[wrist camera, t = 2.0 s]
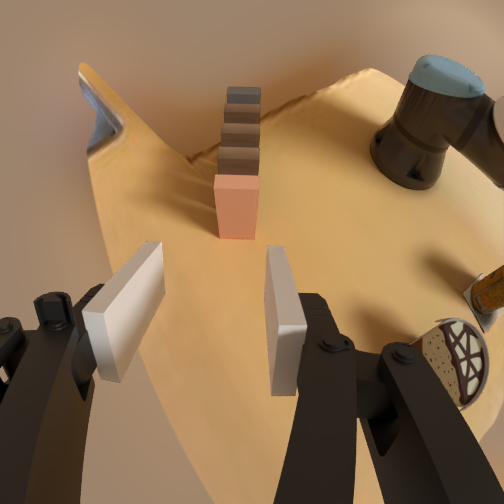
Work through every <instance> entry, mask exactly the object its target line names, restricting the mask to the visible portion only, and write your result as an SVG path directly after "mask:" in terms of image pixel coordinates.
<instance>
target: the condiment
mask: <svg viewBox="0 0 504 504" xmlns="http://www.w3.org/2000/svg"><path fill="white" fill-rule="evenodd" d="M463 295H464V297H465V298H466V300H467V302H468V304H469V306H470V308H471V309H472V311H473V313H474V314H475V316H476V317H477V319H478V321H479V323H480V325H481V327H482V328H483V330H484V332H485V334H486V333H487V332H488V330H489V329H490V328H491V327H492V325H493V324H494V323H495V322H496V320H497V319H498V318H499V317H500V315H501V314H502V313H503V312H504V311H503V309H502V307H504V265H503V266H501V267H500V268H498V269H497V270H495V271H493V272H492V273H491V274H489V275H488V276H486V277H484V275H483V273H482V274H481V275H480V276H479V277H478V278H477V279H476V280H475V281H474V282H473V283H472V284H471V285H470V286H469V287H468V288H467V289H466V290H465V291H464V292H463ZM480 315H481V316H480Z"/></svg>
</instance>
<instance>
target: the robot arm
mask: <svg viewBox="0 0 504 504" xmlns="http://www.w3.org/2000/svg"><path fill="white" fill-rule="evenodd" d="M484 92H485V85H484V83H483V81H482V80H481V79H480V78H479V77H478V76H476V75H475V73H474V72H473V71H471V70H470V69H468V68H466V67H465V66H463V65H462V64H460V63H458V62H456V61H453V60H451V59H448V58H445V57H442V56H437V55H425V56H422V57H421V58H419V59H418V61H417V62H416V64H415V66H414V68H413V70H412V72H411V73H410V74H409V79H408V82H407V84H406V87H405V89H404V91H403V94H402V96H401V98H400V101H399V103H398V105H397V108H396V110H395V112H394V114H393V116H392V117H391V118H390V119H389V120H388V121H387V122H386V123H384V124H383V125H382V126H381V127H380V128H379V129H378V130H377V131H376V133H375V134H374V136H373V139H372V141H371V144H370V152H371V155H372V158H373V160H374V162H375V163H376V165H377V166H378V168H379V169H380V170H381V171H382V172H383V173H384V174H385V175H386V176H387V177H388V178H390V179H391V180H393V181H394V182H396V183H397V184H399V185H401V186H404V187H406V188H409V189H413V190H425V189H428V188H430V187H432V186H433V185H434V183H435V182H436V181H437V179H438V178H439V176H440V174H441V171H442V167H443V162H444V158H445V153H446V151H447V149H448V147H449V146H450V145H451V146H452V147H454V148H455V149H456V150H457V151H458V152H460V153H461V154H462V155H463V156H465V157H466V158H467V159H468V160H469V161H470V162H472V163H473V164H474V165H475V166H476V167H477V168H478V169H479V170H481V171H482V172H483V173H484V174H485V175H486V176H487V177H488V178H489V179H490V180H491V181H492V182H493V183H494V184H495V185H496V186H497V187H498V188H500V189H502V190H503V191H504V96H502V97H500V98H499V99H498V100H497V101H496V102H495V101H494V100H492V99H491V98H490V97H488V96H487V95H486V94H485V93H484ZM164 295H165V284H164V271H163V257H162V242H156V241H146V242H145V243H144V244H143V245H142V246H141V247H140V248H139V249H138V250H137V251H136V252H135V253H134V255H133V256H132V257H131V258H130V259H129V260H128V261H127V262H126V263H125V264H124V265H123V266H122V267H121V268H120V269H119V270H118V271H117V272H116V273H115V274H114V275H113V277H112V278H111V279H110V280H109V281H108V282H107V283H106V284H99V285H97V286H95V287H93V288H91V289H90V290H89V291H88V292H87V293H86V294H85V295H84V296H83V297H82V298H81V299H80V301H79V302H78V303H77V304H76V305H75V306H74V307H72V302H71V298H70V296H69V295H68V294H67V293H64V292H50V293H47V294H43V295H41V296H40V297H38V298H37V299H36V300H34V305H35V309H36V313H37V316H38V320H39V323H40V325H39V327H38V329H37V330H26V331H25V330H23V328H22V325H21V323H20V321H19V320H18V319H17V318H13V317H6V318H2V319H1V320H0V368H1V366H3V369H4V371H5V373H6V375H7V377H8V380H7V381H6V382H3V381H2V379H1V378H0V504H80V495H81V482H82V470H83V461H84V452H85V444H86V436H87V429H88V423H89V416H90V410H91V404H92V399H93V393H94V388H95V383H94V379H93V376H92V374H93V372H94V371H95V369H96V367H97V369H98V372H99V375H100V379H102V380H106V381H112V382H118V383H121V381H122V379H123V377H124V375H125V373H126V371H127V369H128V366H129V364H130V362H131V360H132V358H133V356H134V354H135V352H136V350H137V348H138V346H139V344H140V342H141V340H142V338H143V336H144V334H145V332H146V330H147V328H148V326H149V324H150V322H151V320H152V318H153V316H154V314H155V313H156V311H157V309H158V307H159V305H160V303H161V301H162V299H163V297H164ZM264 305H265V318H266V331H267V345H268V359H269V373H270V387H271V396H295V394H296V389H297V387H298V393H299V396H298V401H297V406H296V411H295V416H294V421H293V425H292V430H291V434H290V439H289V443H288V447H287V452H286V456H285V460H284V464H283V468H282V472H281V476H280V480H279V484H278V488H277V492H276V495H275V499H274V503H273V504H353V497H354V483H355V466H356V436H357V418H359V420H360V423H361V426H362V429H363V432H364V435H365V439H366V442H367V445H368V448H369V452H370V455H371V458H372V461H373V465H374V468H375V472H376V475H377V478H378V482H379V485H380V489H381V492H382V496H383V500H384V503H385V504H504V491H503V489H502V487H501V485H500V483H499V481H498V479H497V477H496V475H495V473H494V471H493V469H492V468H491V466H490V464H489V462H488V460H487V458H486V456H485V455H484V453H483V451H482V449H481V447H480V445H479V444H478V442H477V440H476V438H475V436H474V435H473V433H472V431H471V429H470V428H469V426H468V424H467V423H466V421H465V419H464V418H463V416H462V414H461V413H460V411H459V409H458V408H457V406H456V404H455V403H454V401H453V400H452V398H451V396H450V395H449V393H448V392H447V390H446V388H445V387H444V385H443V384H442V382H441V381H440V379H439V377H438V376H437V374H436V373H435V371H434V370H433V368H432V367H431V365H430V364H429V362H428V361H427V359H426V358H425V356H424V355H423V353H422V352H421V351H420V350H419V349H418V348H416V347H414V346H412V345H410V344H406V343H403V342H394V343H389V344H387V345H386V346H384V347H383V350H382V352H381V355H380V354H374V353H367V352H363V351H359V350H356V349H355V346H354V343H353V341H352V340H351V339H349V338H348V337H347V336H345V335H343V334H340V333H339V330H338V328H337V325H336V323H335V321H334V318H333V316H332V315H331V311H330V309H329V307H328V305H327V302H326V300H325V299H324V298H322V297H321V296H320V295H319V294H318V293H298V292H297V288H296V285H295V282H294V278H293V275H292V271H291V268H290V265H289V261H288V258H287V255H286V251H285V248H284V246H268V245H267V260H266V276H265V291H264Z"/></svg>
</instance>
